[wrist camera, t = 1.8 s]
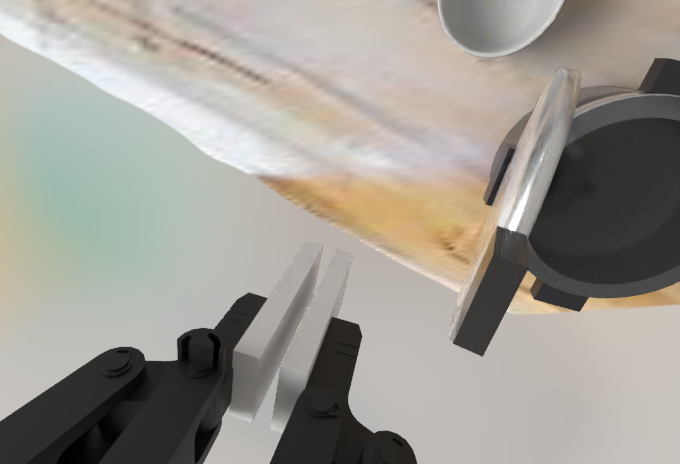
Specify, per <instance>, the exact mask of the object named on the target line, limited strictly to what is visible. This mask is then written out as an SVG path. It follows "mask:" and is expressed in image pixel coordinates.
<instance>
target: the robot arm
mask: <svg viewBox="0 0 680 464" xmlns="http://www.w3.org/2000/svg"><path fill="white" fill-rule="evenodd" d="M322 248H323V245H319V244H315V243H312V242H308V241H306V242H305V243H304V245H303V246H302V248H301V249H300V251H299V252H298V254H297V255H296V257H295V258H294V260H293V261H292V263H291V264H290V266H289V267H288V269H287V270H286V272H285V273H284V275H283V276H282V278H281V280H280V281H279V282H278V284H277V285H276V287H275V288H274V290H273V291H272V293H271V294H270V296H269V297H268V298H265V297H262V296H259V295H255V294H252V293H248V294H246V295H244V296H242V297H241V298H239V299H237V301H236V302H235V303H234V304H233V306H232V307H231V308H230V310H229V311H228V312H227V313H226V314H225V316H224V318H223V319H222V320H221V321H220V322H219V323H218V325H217V326H216V327H215V329H214V330H213V329H207V328H200V329H194V330H191V331H188V332H186V333H184V334H183V335H181V336H180V337H179V338H178V339H177V348H178V360H176V361H145V358H144V354H143V353H142V352H140V350H138V349H135V348H132V347H118V348H114V349H110V350H108V351H106V352H104V353H102V354H100V355H98V356H97V357H95V358H94V359H92V360H91V361H89V362H88V363H87V364H85V365H84V366H82V367H81V368H79V369H78V370H76V371H75V372H73V373H72V374H70V375H69V376H67V377H66V378H64V379H63V380H61V381H60V382H58V383H57V384H55V385H54V386H52V387H51V388H49V389H48V390H46V391H45V392H43V393H42V394H41V395H39V396H37V397H36V398H34V399H33V400H31V401H30V402H28V403H27V404H25V405H24V406H23V407H21V408H19V409H18V410H16V411H15V412H13V413H12V414H11V415H9V416H8V417H6V418H5V419H3V420H2V421H0V464H203V463H204V461H205V459H206V457H207V455H208V453H209V451H210V449H211V447H212V445H213V443H214V441H215V440H216V438H217V436H218V434H219V432H220V428H221V425H222V417H223V415H224V413H225V412H226V410H227V408H228V406H229V405H230V407H229V415H231V416H235V417H237V418H240V419H243V420H246V421H249V422H253V420H254V418H255V416H256V414H257V412H258V410H259V408H260V406H261V404H262V401H263V399H264V397H265V395H266V393H267V391H268V389H269V387H270V385H271V383H272V380H273V378H274V376H275V374H276V372H277V370H278V368H279V366H280V364H281V362H282V360H283V358H284V356H285V358H284V360H283V362H282V364H281V367H280V373H279V380H278V386H277V393H276V399H275V405H274V411H273V418H272V424H271V429H272V430H276V431H278V432H281V433H283V434H282V436H281V439H280V441H279V443H278V446H277V448H276V450H275V453H274V455H273V457H272V460H271V462H270V464H417V461H416V457H415V455H414V452H413V450H412V448H411V446H410V445H409V444H408V442H407V441H406V440H405V439H404V438H402V437H401V436H399V435H398V434H396V433H393V432H390V431H378V432H376V433H373V432H371V431H370V430H369V429H367V428H366V427H364V426H363V425H362V424H361V423H360V422H358V421H357V420H356V418H355V417H354V416H353V415H352V413H351V410H350V408H349V405H348V394H349V390H350V386H351V381H352V377H353V373H354V369H355V364H356V360H357V356H358V352H359V348H360V343H361V339H362V334H361V331H360V327H359V325H358V324H355V323H351V322H348V321H345V320H341V319H338V318H337V315H338V313H339V310H340V307H341V304H342V300H343V295H344V291H345V287H346V283H347V279H348V275H349V271H350V266H351V262H352V258H353V254H351V253H348V252H344V251H341V250H337V249H336V251H335V253H334V255H333V257H332V260H331V261H330V263H329V266H328V268H327V270H326V272H325V274H324V276H323V278H322V280H321V282H320V284H319V287H318V289H317V291H316V293H315V295H314V297H313V294H314V289H315V284H316V279H317V274H318V268H319V263H320V258H321V253H322ZM312 298H313V299H312ZM311 300H312V301H311ZM310 302H311V303H310ZM309 304H310V305H309ZM308 306H309V308H308ZM307 308H308V309H307ZM306 310H307V312H306ZM305 312H306V314H305ZM304 314H305V316H304ZM303 316H304V318H303ZM302 318H303V320H302ZM301 320H302V322H301ZM300 322H301V324H300ZM299 324H300V326H299ZM298 327H299V328H298ZM297 329H298V330H297ZM296 331H297V333H296ZM295 333H296V335H295ZM294 335H295V337H294V339H293V336H294ZM292 339H293V341H292ZM291 341H292V343H291ZM290 343H291V345H290ZM289 345H290V347H289ZM288 347H289V349H288ZM287 349H288V351H287ZM286 352H287V353H286ZM285 354H286V355H285Z"/></svg>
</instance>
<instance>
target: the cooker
mask: <svg viewBox="0 0 680 464" xmlns="http://www.w3.org/2000/svg"><path fill="white" fill-rule="evenodd" d="M533 110H534V109H533ZM533 110H532V111H531V112H529V113H528V114H527V115H525V116H524V117H523V118H522V119H521V120H520V121H519V122H518V123H517V124H516V125H515V126H514V127H513V128H512V129H511V131H510V132H509V133H508V134H507V136H506V137H505V139H504V140H503V142H502V144H501V145H500V147H499V149H498V151H497V153H496V156H495V159H494V162H493V165H492V169H491V175H490V182H489V185H488V187H487V190H486V192H485V195H484V197H483V198H484V201H485V204H486V205H490V206H492V203H493V201H494V198H495V196H496V194H497V191H498V189H499V186H500V184H501V182H502V179H503V177H504V174H505V172H506V170H507V167H508V165H509V163H510V160H511V158H512V156H513V154H514V151H515V149H516V147H517V145H518V142H519V140H520V138H521V136H522V134H523V131H524V129H525V127H526V125H527V123H528V121H529V119H530V117H531V115H532V113H533ZM527 246H528V264H529V268H528V271H530V272H531V273H532V274H533V275H534V276H535V277H537V278H536V280H535V282H534V284H533V286H532V287H531V289H530V291H531V294H532V296H533V298H534V299H535V300H538V301H542V302H546V303H549V304H553V305H556V306H560V307H564V308H567V309H571V310H574V311H578V312H580V310H581V309H582V307H583V306H584V304H585V303H586V301H587V299H588V298H589V297H593V298H620V297H629V296H635V295H641V294H645V293H649V292H653V291H656V290H659V289H662V288H665V287H668V286H670V285H673V284H675V283H677V282H679V281H680V61H678V60H673V59H668V58H655V60H654V62H653V64H652V66H651V67H650V69H649V71H648V73H647V75H646V77H645V78H644V80H643V82H642V84H641V86H640V88H639V90H632V89H626V88H619V87H612V86H597V87H588V88H582V89H580V91H579V97H578V101H577V105H576V109H575V113H574V116H573V120H572V123H571V126H570V130H569V133H568V136H567V139H566V142H565V145H564V148H563V151H562V154H561V157H560V159H559V162H558V165H557V168H556V170H555V173H554V176H553V178H552V181H551V184H550V186H549V189H548V191H547V194H546V196H545V199H544V201H543V204H542V206H541V209H540V211H539V214H538V216H537V218H536V221H535V223H534V225H533V228H532V230H531V232H530V235H529V237H528V239H527Z"/></svg>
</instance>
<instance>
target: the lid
mask: <svg viewBox="0 0 680 464" xmlns="http://www.w3.org/2000/svg"><path fill="white" fill-rule="evenodd" d="M580 86H581V73H580V71H578V70H573V69H568V68H563V67H559V68H558V69H557V70H556V71H555V73H554V74H553V76H552V77H551V79H550V80H549V82H548V84H547V86H546V87H545V89H544V91H543V93H542V95H541V97H540V99H539V100H538V102H537V104H536V106H535V108H534V110H533V113H532V115H531V117H530V119H529V121H528V123H527V125H526V127H525V129H524V131H523V134H522V136H521V138H520V140H519V142H518V145H517V147H516V149H515V151H514V154H513V156H512V158H511V160H510V163H509V165H508V167H507V170H506V172H505V174H504V177H503V179H502V182H501V184H500V186H499V189H498V191H497V194H496V196H495V198H494V201H493V203H492V206H491V208H490V211H489V213H488V216H487V218H486V221H485V224H484V226H483V229H482V231H481V234H480V237H479V239H478V242H477V244H476V247H475V250H474V253H473V255H472V258H471V261H470V264H469V266H468V269H467V272H466V275H465V278H464V281H463V284H462V287H461V290H460V293H459V296H458V299H457V303H456V306H455V309H454V313H453V317H452V320H451V325H450V330H449V339H450V340H452V341H453V344H455V345H458V346H460V347H462V348H464V349H467V350H469V351H472V352H473V353H476V354H478V355H480V356H483V355H484V353H485V351H486V349H487V347H488V345H489V343H490V341H491V339H492V338H493V336H494V334H495V331H496V330H497V328H498V326H499V324H500V322H501V320H502V318H503V316H504V314H505V313H506V311H507V309H508V307H509V305H510V303H511V301H512V299H513V297H514V295H515V293H516V291H517V289H518V288H519V286H520V284H521V282H522V280H523V278H524V276H525V274H526V272H527V270H528V268H529V264H528V246H527V239H528V237H529V235H530V232H531V230H532V228H533V225H534V223H535V221H536V218H537V216H538V214H539V211H540V209H541V206H542V204H543V201H544V199H545V196H546V194H547V191H548V189H549V186H550V184H551V181H552V178H553V176H554V173H555V170H556V168H557V165H558V162H559V159H560V157H561V154H562V151H563V148H564V145H565V142H566V139H567V136H568V133H569V130H570V126H571V123H572V120H573V116H574V113H575V109H576V105H577V101H578V97H579V91H580Z"/></svg>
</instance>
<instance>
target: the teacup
mask: <svg viewBox="0 0 680 464" xmlns="http://www.w3.org/2000/svg"><path fill="white" fill-rule="evenodd" d="M564 1H565V0H438V12H439V18H440V21H441V24H442V27H443V29H444V31H445V33H446V35H447V36H448V38H449V39H450V40H451V41H452V42H453V43H454V44H455V45H456V46H457V47H458V48H460V49H461V50H463V51H464V52H466V53H468V54H470V55H473V56H477V57H483V58H496V57H502V56H506V55H510V54H512V53H515V52H517V51H519V50H521V49H523V48H524V47H526V46H527V45H529V44H531V43H532V42H533V41H534V40H535V39H537V38H538V37H539V36H540V35H541V34H542V33H543V32H544V31H545V30H546V29H547V28H548V27H549V26H550V25H551V23H552V22H553V21H554V19H555V18H556V16H557V15H558V13H559V11H560V10H561V8H562V6H563V4H564Z"/></svg>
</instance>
